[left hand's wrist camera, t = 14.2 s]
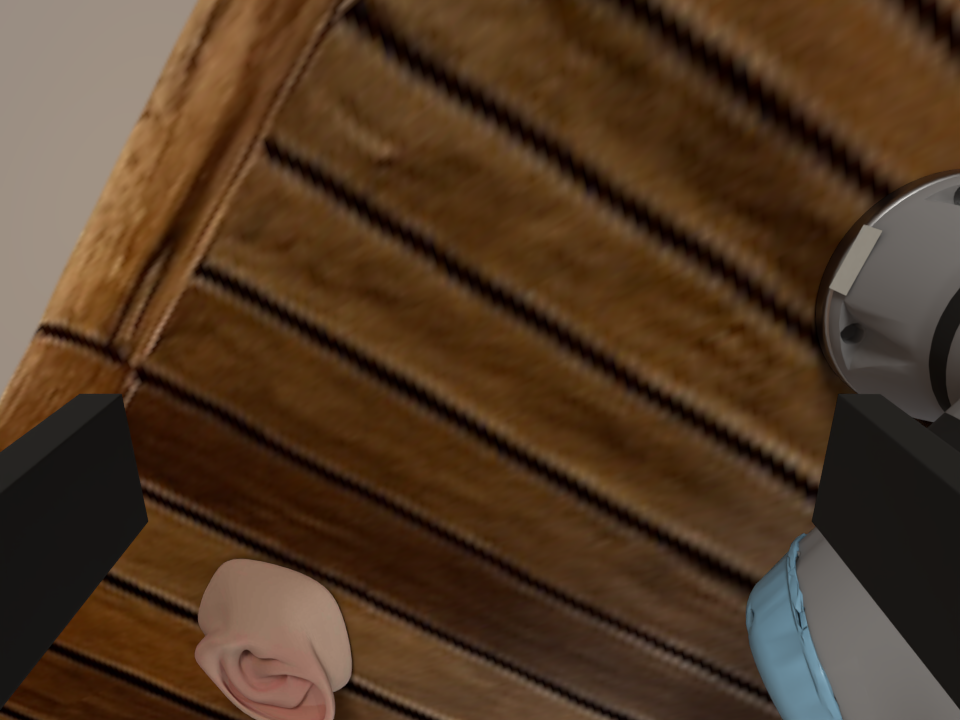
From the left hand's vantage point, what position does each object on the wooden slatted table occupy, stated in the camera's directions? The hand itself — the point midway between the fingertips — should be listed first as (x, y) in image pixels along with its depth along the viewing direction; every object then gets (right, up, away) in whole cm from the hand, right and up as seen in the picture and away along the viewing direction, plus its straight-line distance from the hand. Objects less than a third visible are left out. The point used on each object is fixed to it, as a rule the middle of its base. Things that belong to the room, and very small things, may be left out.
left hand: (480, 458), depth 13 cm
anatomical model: (-16, -19, +39) cm, 46 cm away
